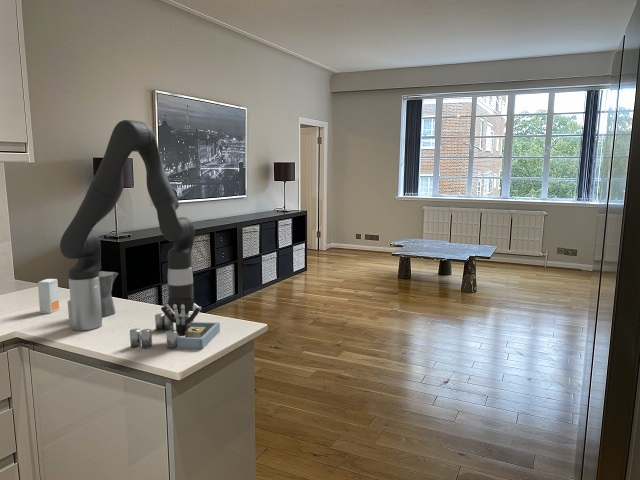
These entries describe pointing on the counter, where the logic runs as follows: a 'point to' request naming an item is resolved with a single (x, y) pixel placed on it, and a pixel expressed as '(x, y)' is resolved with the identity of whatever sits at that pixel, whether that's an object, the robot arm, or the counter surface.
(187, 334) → the yellow knobbed block
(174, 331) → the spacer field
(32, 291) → the counter surface
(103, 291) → the coffeepot
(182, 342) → the parts bay
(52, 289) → the skincare box
